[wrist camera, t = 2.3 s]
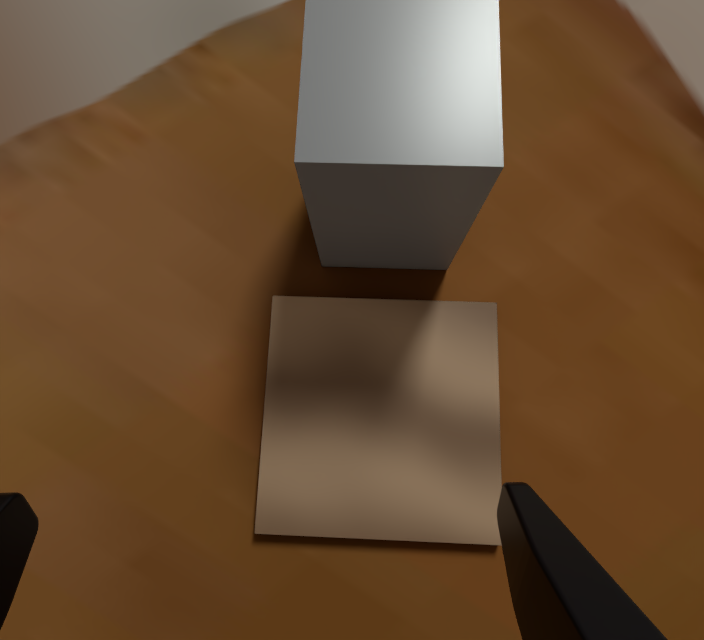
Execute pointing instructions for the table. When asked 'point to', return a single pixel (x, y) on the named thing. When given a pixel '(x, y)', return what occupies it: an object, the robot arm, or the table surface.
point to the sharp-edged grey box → (398, 127)
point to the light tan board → (381, 421)
